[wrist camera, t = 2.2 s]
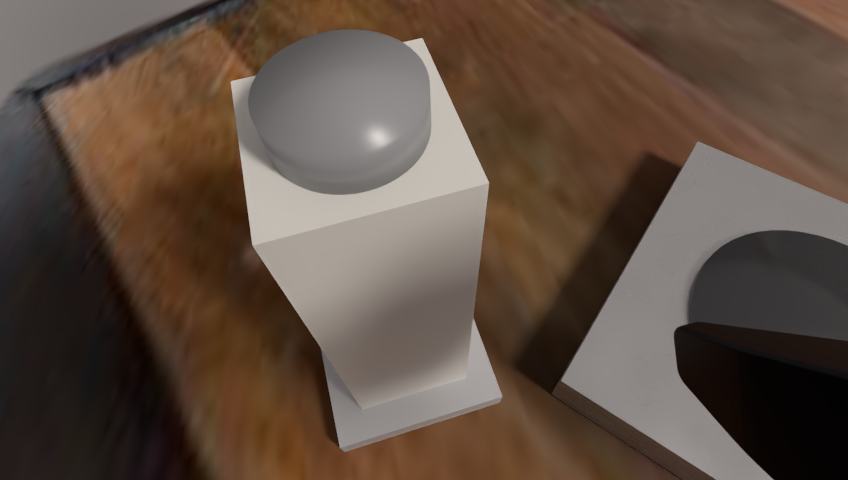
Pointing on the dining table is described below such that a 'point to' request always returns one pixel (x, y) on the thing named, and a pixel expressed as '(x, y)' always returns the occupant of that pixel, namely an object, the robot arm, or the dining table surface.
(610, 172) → the dining table surface
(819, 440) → the robot arm
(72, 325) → the dining table surface
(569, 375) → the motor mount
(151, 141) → the dining table surface
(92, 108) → the dining table surface
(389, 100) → the white pedestal with button
